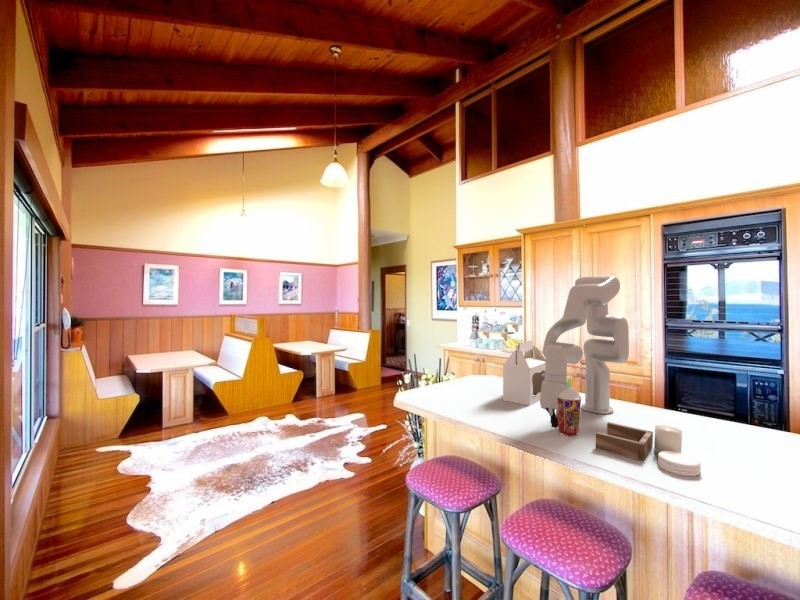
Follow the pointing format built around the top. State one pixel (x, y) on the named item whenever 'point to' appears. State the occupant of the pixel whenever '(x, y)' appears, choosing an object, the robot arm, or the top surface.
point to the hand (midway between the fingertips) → (555, 426)
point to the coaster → (679, 463)
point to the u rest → (625, 441)
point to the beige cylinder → (667, 439)
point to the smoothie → (569, 411)
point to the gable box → (523, 375)
